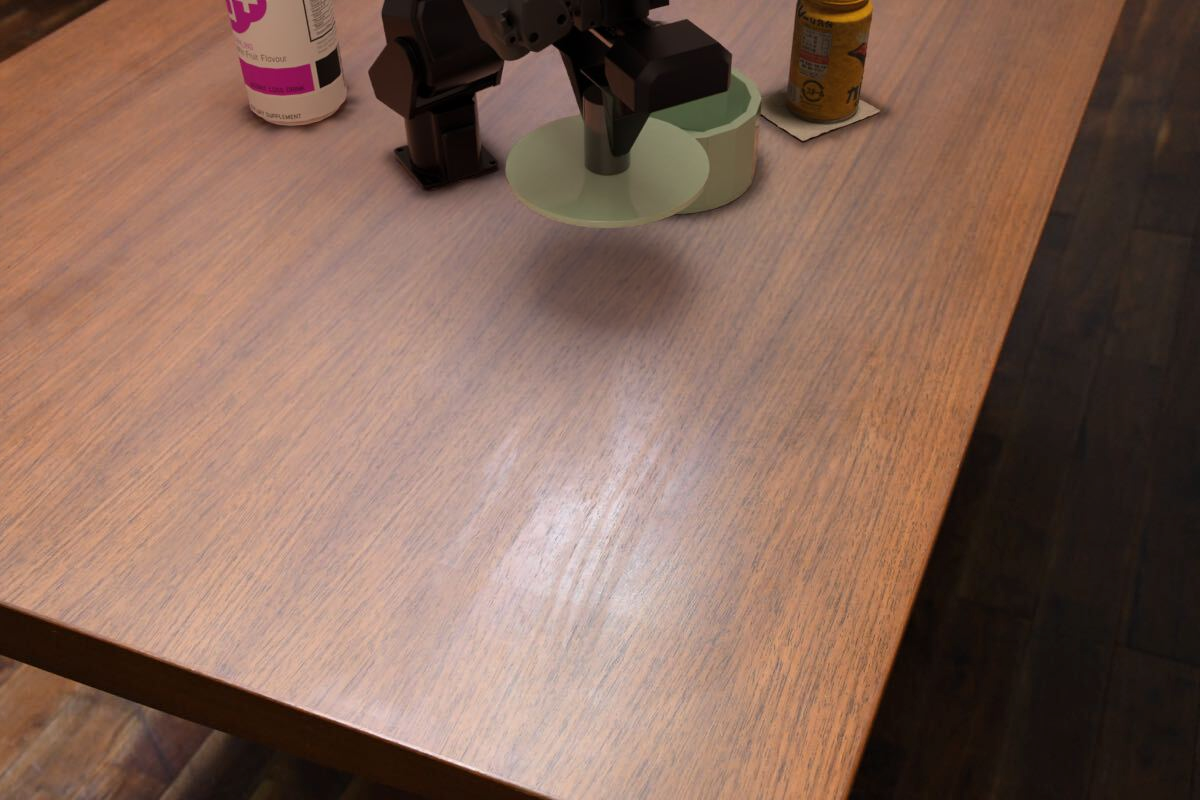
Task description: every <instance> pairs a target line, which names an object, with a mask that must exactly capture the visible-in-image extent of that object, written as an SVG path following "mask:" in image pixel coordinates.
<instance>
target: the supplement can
mask: <svg viewBox="0 0 1200 800" xmlns="http://www.w3.org/2000/svg"><path fill="white" fill-rule="evenodd" d="M225 4H226V9H227V14H228V18H229V22H230V27H231V30H232V34H233V38H234V43H235V48H236V51H237V56H238V60H239V64H240V65H239V66H240V69H241V74H242V78H243V82H244V87H245V90H246V95H247V100H248V103H249V109H250V110H251V111H252V112H253V113H254V114H256V115H257V117H260V118H262V119H263V120H264V121H266V122H268V123H271V124H274V125H279V126H288V127H293V126H295V127H296V126H306V125H311V124H313V123H317V122H321V121H323V120H325V119H327V118H328V117H331V116H332V115H334V114H335V113H336V112H337V111H338V110H340V107H341V105H343V104H344V103H345V101H346V99H347V96H348V89H347V83H346V77H345V71H344V65H343V60H342V59H343V58H342V52H341V48H340V41H339V36H338V30H337V25H336V24H337V23H336V19H335V12H334V6H333V1H332V0H225Z"/></svg>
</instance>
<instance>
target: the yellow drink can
mask: <svg viewBox="0 0 1200 800" xmlns="http://www.w3.org/2000/svg"><path fill="white" fill-rule="evenodd" d="M873 7H874V6H873V2H872V1H871V0H796V3H795V12H794V21H793V22H794V24H793V33H792V41H791V52H790V59H789V60H790V62H789V72H788V81H787V88H785V89H783V90H777V91H775V92H773V93H771V94H768V95H765V96H763V97H762V104H761V115H762V116H763V117H764V118H765V119H767V120H769V121H770V122H772V123H774V124H775V125H777V128H781V129H783V130H785V131H786V132H787V133H789V134H790V135H792V136H794V137H796V138H797V139H799V140H801V141H802V142H804V141H807V140H809V139H810V138H815V137H817V136H819V135H822V134H824V133H828V132H830V131H832V130H836V129H838V128H843V127H845V126H848V125H850V124H853V123H855V122H858V121H860V120H863V119H866V118H868V117H871V116H874V115H876V114H878V113H879V112H881V109H878V108H877V107H875V106H874V105H872V104H870V103H868V102H866V101H864V100H862V99H861V94H862V93H861V92H862V87H863V80H864V73H865V65H866V58H867V52H868V51H867V50H868V44H869V38H870V31H871V24H872V21H873V9H874V8H873Z"/></svg>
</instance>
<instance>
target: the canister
mask: <svg viewBox="0 0 1200 800" xmlns="http://www.w3.org/2000/svg"><path fill="white" fill-rule="evenodd" d="M762 98H763V97H762V95H761V92H760V89H759V88H758V86H757V84H756V81H754V80H753V79H751V78H750V77H749V76H748V75H746V74H745V73H743V72H742V71H740V70H739V68H736V67H733V66H731V80H730V86H729V88H728V91H727V92H723V93H720V94H716V95H713V96H709V97H706V98H702V99H699V100H695V101H692V102H688V103H685V104H681V105H678V106H674V107H671V108H667V109H664V110H660V111H657V112H653V113H651V115H650V116H649V117H652V118H655V119H659V120H662V121H665V122H668V123H670V124H672V125H675V126H677V127H679V128H681V129H682V130H684V131H686V132H687V133H689V134H690V135H691V136H693V137H694V138H695V139H696V140H697V141H698V142H699V143H700V144H701V145H702V147H703V148H704V150H705V151H706V154H707V156H708V159H709V164H710V169H709V179H708V182H707V185H706V187H705V189H704V191H703V192H702V193H701V195H700V196H699V197H698V198H697V199H696V200H695V201H694V202H693V203H692V204H690V205H689V206H688V207H686V208H684V209H683V210H681V211H680V212H678V213H676V214H675V215H684V214H686V215H687V214H695V213H702V212H707V211H711V210H714V209H718V208H721V207H724V206H725V205H728V204H730V203H731V202H734V201H735V200H737V199H739V198H740V197H741V196H742V195H743V194H745V192H747V190H748V189H749V188H750V186H751V184H752V182H753V181H754V178H755V172H756V170H757V169H756V168H757V162H758V152H759V139H760V126H761V115H762V114H761V104H762Z"/></svg>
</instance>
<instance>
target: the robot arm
mask: <svg viewBox="0 0 1200 800" xmlns="http://www.w3.org/2000/svg"><path fill="white" fill-rule="evenodd" d="M667 6H670V0H383V4H382V7H381V13H380V15H381V21H382V25H383V31H384V37H385V43H386V45H384V48H383V49H382V50H381V51H380V53H379V55H378V56H377V57H376V59H375V60H374V61H373V63H372V64H371V66H370V67H369V69H368V71H367V73H368V77H369V80H370V84H371V86H372V90H373V93H374V97H375V98H376V100H378V101H379V102H380V103H382V104H383V105H385V106H386V107H388V108H389V109H391V110H392V111H393V112H394V113H396V114H398V115H399V116H401V117H402V118H403V122H404V128H405V136H406V143H407V144H405V145H401V146H398V147H395V148H394V149H393V153H394V158H396V159H397V160H398V162H400V164H401V165H402V166H403V168H404V169H405V170H406V171H407V173H408V174H409V175H410V176H411V177H412V178H413V180H414V181H415V182H416V183H417V184H418V186H419V187H420V188H421V189H422V190H424V191H433V190H435V189H438V188H442V187H445V186H448V185H451V184H454V183H458V182H462V181H465V180H468V179H471V178H475V177H478V176H481V175H484V174H487V173H491V172H494V171H497V170H499V168H500V162H499V160H498V159H497V158H496V157H495V156H494V155H493V154H492V153H491V152H490V151H489V149H488V148H486V147H485V145H483V144H482V137H481V130H480V128H481V127H480V117H479V109H478V108H479V107H478V106H479V105H478V95H477V93H479V92H481V91H484V90H487V89H489V88H495V87H498V86H500V85H501V82H502V77H503V73H504V72H503V71H504V67H505V62H506V61H507V62H514V61H518V60H520V59H523V58H524V57H525V56H527V55H529V54H530V53H531V52H532V53H541V52H542V51H543V50H545V49H547V48H549V47H550V46H553V47H554V48H555V49H557V50H558V52H559V54H560V55H559V56H560V58H561V60H562V62H563V65H564V68H565V71H566V74H567V77H568V79H569V83H570V86H571V90H572V92H573V95H574V98H575V101H576V104H577V107H578V111H579V113H580V114H581V116H582V119H583V92H584V90H585V89H586V88H587V87H588V86H590V85H593V84H596V85H597V86H598V87H599V88H600V89H601V90H602V98H603V105H604V113H605V120H606V128H607V135H608V141H609V146H610V151H611V154H612V155H613V156H614V157H620V156H623V155H626V154H628V153H629V152H630V150H631V148H632V146H633V145H634V143H635V141H636V139H637V138H638V136H639V134H640V132H641V130H642V129H643V127H644V125H645V123H646V122H647V120H648V118H649V116H650V115H651V113H653V112H657V111H660V110H664V109H667V108H671V107H674V106H678V105H681V104H685V103H688V102H692V101H695V100H699V99H702V98H706V97H709V96H713V95H716V94H720V93H723V92H727V91H728V88H729V86H730V80H731V67H733V66H732V64H733V53H731V52H730V51H729V50H728V49H727V48H726V47H725V46H724V45H723V44H721V43H720V41H718V40H716V39H715V37H712V35H710V34H708V33H707V32H706V31H704V30H703V29H702V28H701V27H699V26H698V25H696V24H695V23H694V22H693V21H691V20H690V19H689V18H685V19H681V20H677V21H672V22H668V21H665V20H652V19H651V18H650V17H649V16H650V11H652V10H656V9H660V8H663V7H667Z"/></svg>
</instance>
